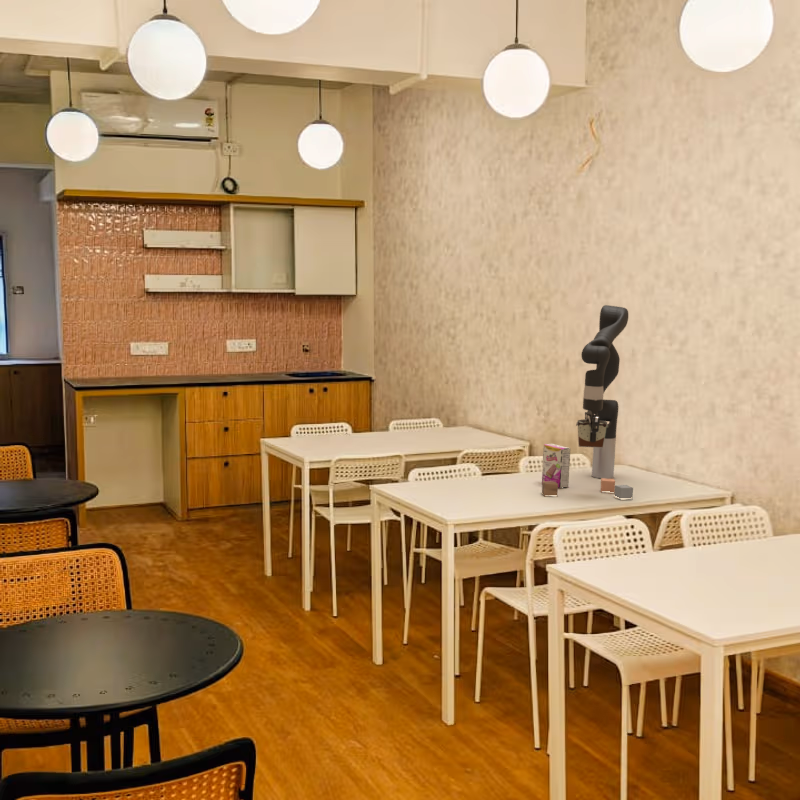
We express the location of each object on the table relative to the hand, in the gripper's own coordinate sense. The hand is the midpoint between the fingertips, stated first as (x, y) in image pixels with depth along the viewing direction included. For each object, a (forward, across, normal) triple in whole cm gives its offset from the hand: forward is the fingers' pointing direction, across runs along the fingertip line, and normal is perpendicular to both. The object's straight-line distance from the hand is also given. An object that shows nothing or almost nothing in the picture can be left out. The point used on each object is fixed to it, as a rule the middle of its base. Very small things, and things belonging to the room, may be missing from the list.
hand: (590, 440), depth 390 cm
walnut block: (+22, 0, -15) cm, 27 cm away
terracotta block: (+22, -8, +10) cm, 25 cm away
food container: (+2, -1, 0) cm, 2 cm away
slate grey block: (+22, +4, +13) cm, 26 cm away
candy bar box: (+22, -18, -9) cm, 30 cm away
